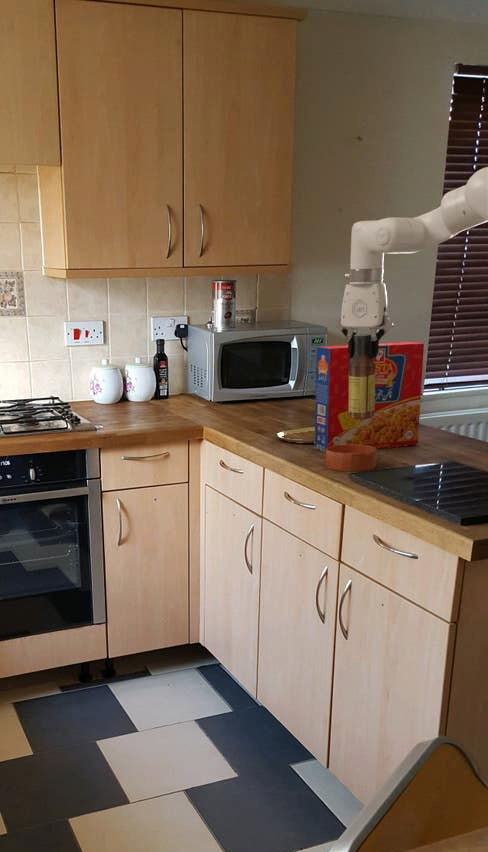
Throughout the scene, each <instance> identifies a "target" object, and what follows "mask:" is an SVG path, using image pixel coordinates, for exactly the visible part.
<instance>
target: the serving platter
mask: <svg viewBox="0 0 488 852" xmlns="http://www.w3.org/2000/svg"><path fill="white" fill-rule="evenodd" d="M308 431H315V426H309V427H303V428H297V429H289V430H283V431H279V432H278V433H277V434H276V435H277V438H279V440H281V441H283V440H285V441H290V442H303V443H314V442H315V439H314V440H303V439H290V438H284V437H282V436H284V435H287V434H293V433H300V432H308ZM285 441H284V442H285Z"/></svg>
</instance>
